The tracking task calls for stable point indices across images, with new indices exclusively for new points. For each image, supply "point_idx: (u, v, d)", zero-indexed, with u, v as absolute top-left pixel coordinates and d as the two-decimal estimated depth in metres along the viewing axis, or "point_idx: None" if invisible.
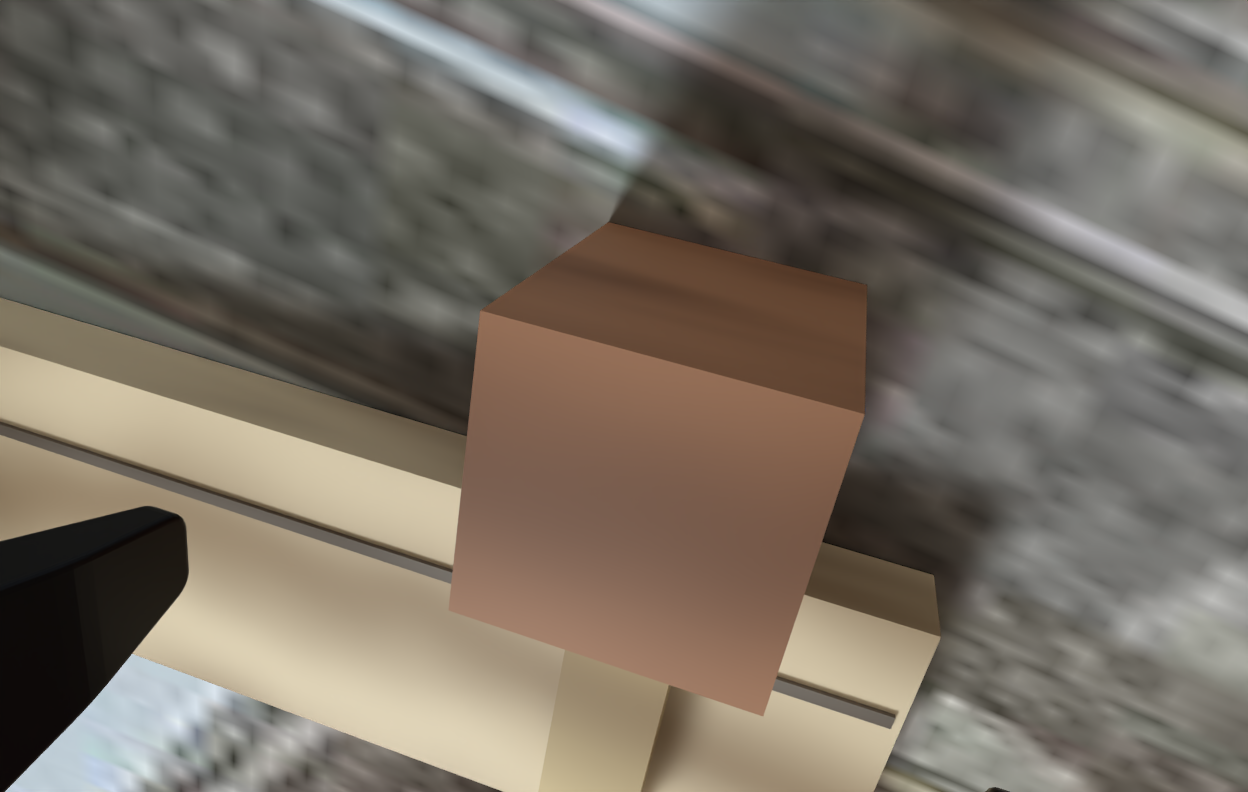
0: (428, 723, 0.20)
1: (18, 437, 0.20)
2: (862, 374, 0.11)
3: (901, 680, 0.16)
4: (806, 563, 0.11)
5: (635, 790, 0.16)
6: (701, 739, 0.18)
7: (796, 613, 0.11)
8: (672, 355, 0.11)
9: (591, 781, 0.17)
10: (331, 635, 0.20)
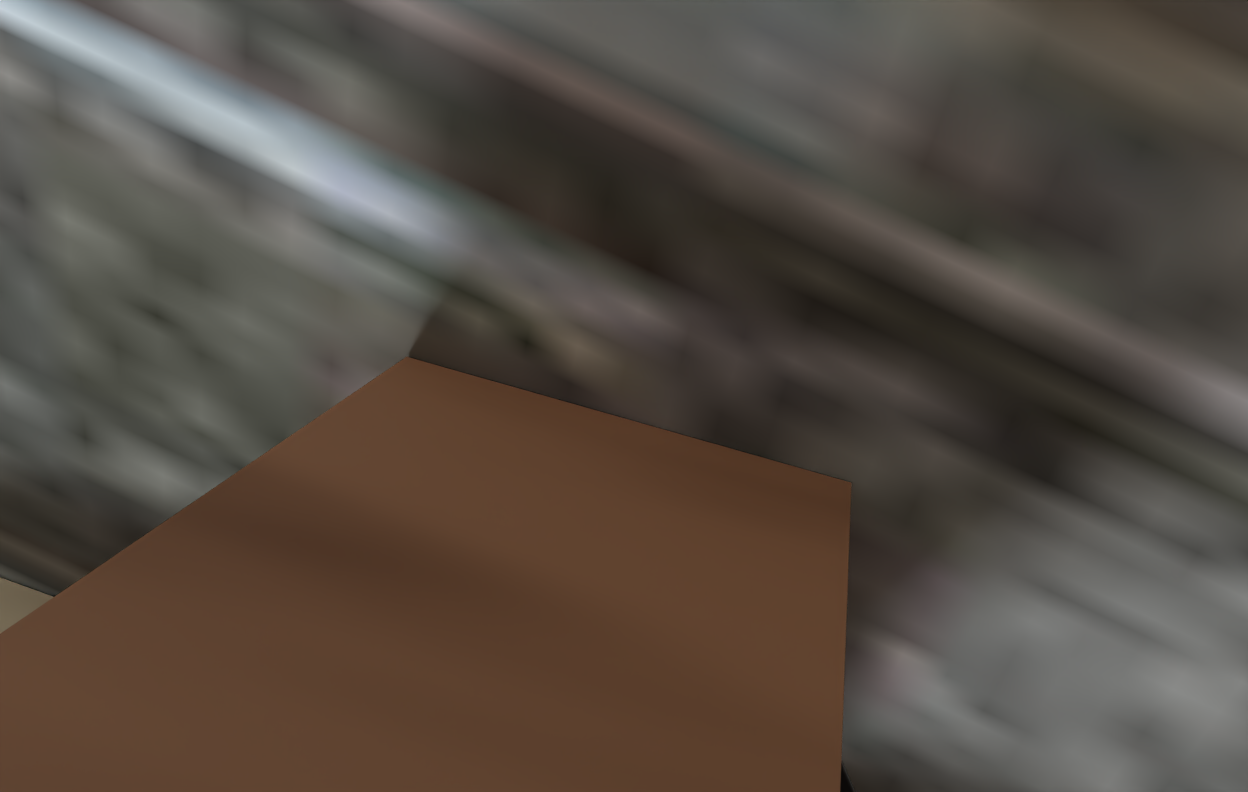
0: None
1: None
2: None
3: None
4: None
5: None
6: None
7: None
8: None
9: None
10: None
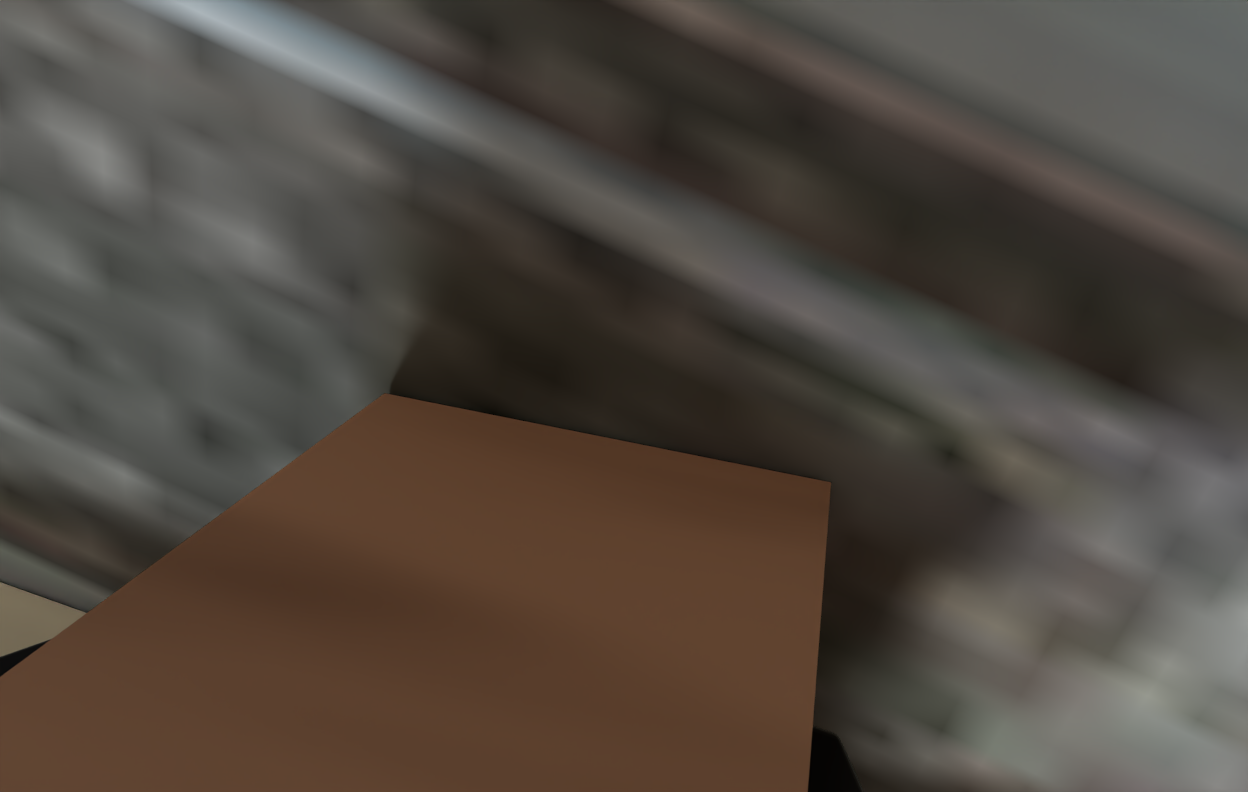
0: None
1: None
2: None
3: None
4: None
5: None
6: None
7: None
8: None
9: None
10: None
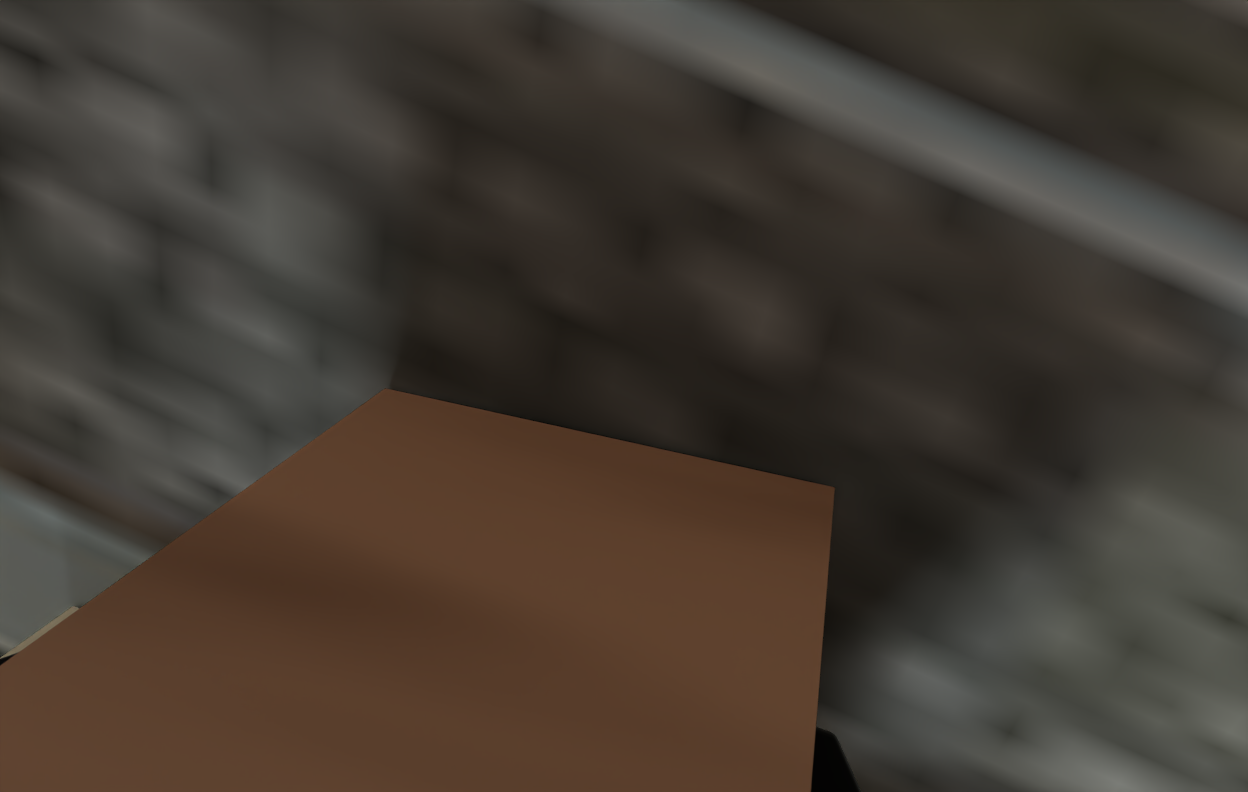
0: None
1: None
2: None
3: None
4: None
5: None
6: None
7: None
8: None
9: None
10: None
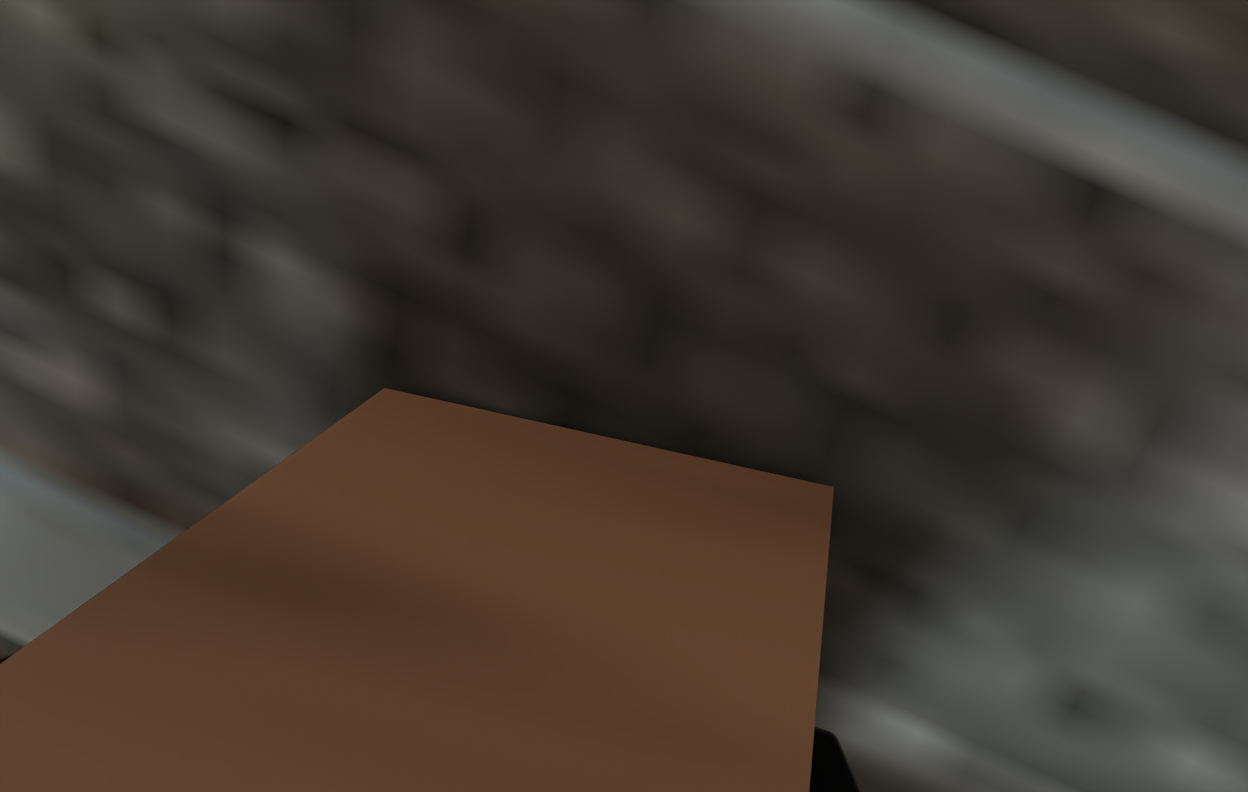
0: None
1: None
2: None
3: None
4: None
5: None
6: None
7: None
8: None
9: None
10: None
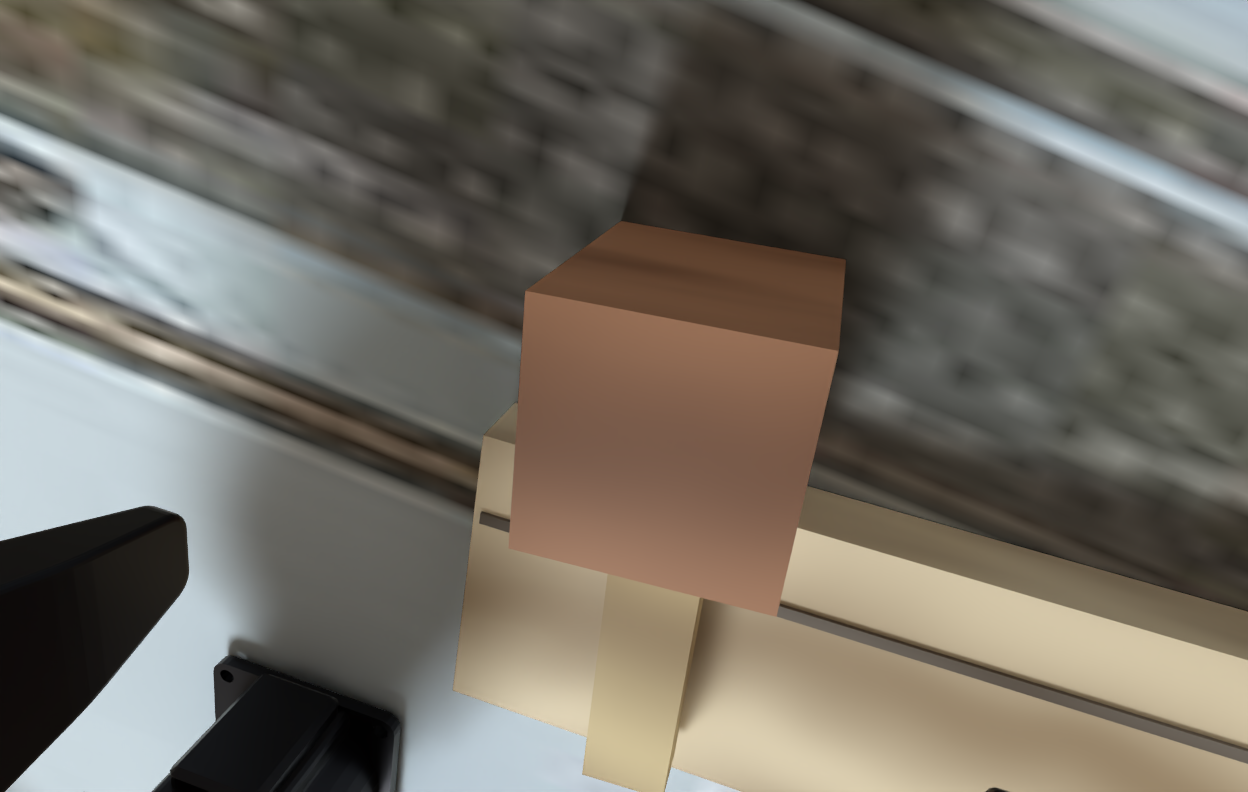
0: None
1: None
2: (838, 324, 0.14)
3: None
4: (801, 480, 0.13)
5: (673, 712, 0.19)
6: None
7: (797, 523, 0.14)
8: (682, 315, 0.13)
9: (635, 707, 0.19)
10: (958, 769, 0.20)
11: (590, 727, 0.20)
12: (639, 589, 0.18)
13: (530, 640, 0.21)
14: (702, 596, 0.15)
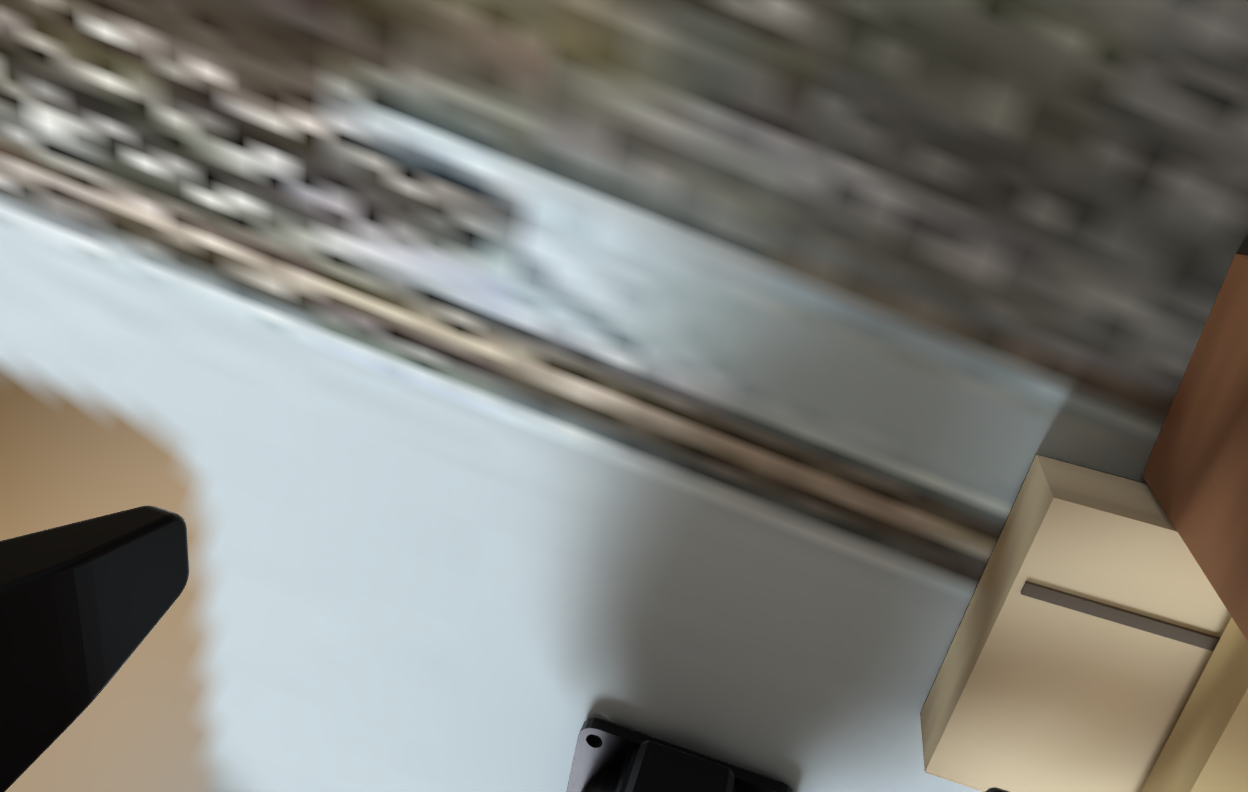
0: None
1: None
2: None
3: None
4: None
5: None
6: None
7: None
8: None
9: None
10: None
11: None
12: None
13: (1048, 721, 0.19)
14: None
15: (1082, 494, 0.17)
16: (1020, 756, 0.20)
